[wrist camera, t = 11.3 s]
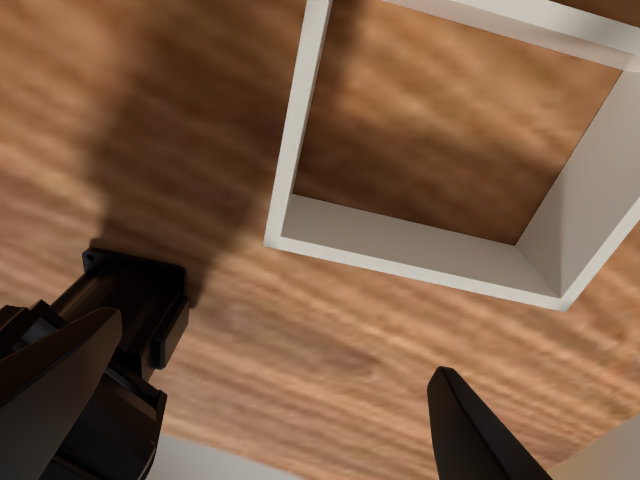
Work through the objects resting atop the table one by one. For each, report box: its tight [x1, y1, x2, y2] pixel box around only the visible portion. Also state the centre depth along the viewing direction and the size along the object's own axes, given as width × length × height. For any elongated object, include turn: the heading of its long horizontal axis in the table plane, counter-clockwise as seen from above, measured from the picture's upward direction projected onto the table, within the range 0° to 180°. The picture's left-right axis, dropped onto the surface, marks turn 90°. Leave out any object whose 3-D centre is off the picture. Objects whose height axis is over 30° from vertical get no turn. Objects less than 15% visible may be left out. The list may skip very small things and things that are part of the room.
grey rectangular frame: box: [263, 0, 640, 312], centre depth 16 cm, size 15×11×5 cm
